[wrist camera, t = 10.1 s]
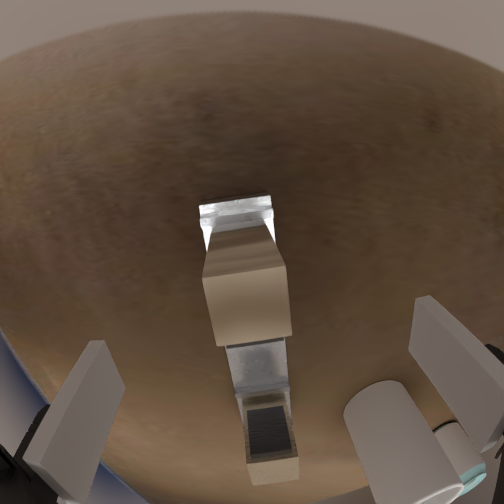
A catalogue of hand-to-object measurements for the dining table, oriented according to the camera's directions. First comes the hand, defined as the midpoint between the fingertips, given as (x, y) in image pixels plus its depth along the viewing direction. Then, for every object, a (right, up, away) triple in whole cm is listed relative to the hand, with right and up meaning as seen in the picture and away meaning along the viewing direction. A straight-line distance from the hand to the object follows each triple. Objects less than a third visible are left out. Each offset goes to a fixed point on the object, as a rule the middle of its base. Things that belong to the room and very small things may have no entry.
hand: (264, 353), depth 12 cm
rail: (0, -3, +15) cm, 16 cm away
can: (+30, -25, +26) cm, 47 cm away
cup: (+14, -14, +21) cm, 29 cm away
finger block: (-1, +4, +11) cm, 12 cm away
